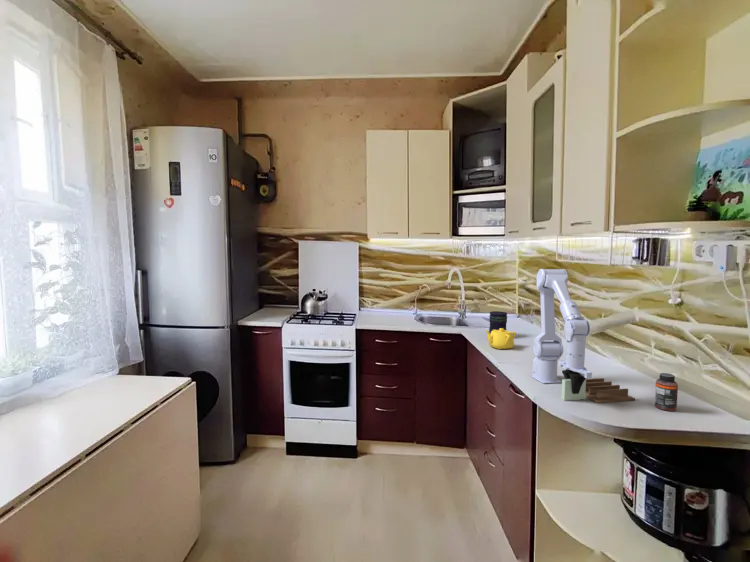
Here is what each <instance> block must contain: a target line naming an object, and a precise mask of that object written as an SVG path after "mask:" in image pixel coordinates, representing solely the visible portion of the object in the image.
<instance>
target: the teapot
mask: <svg viewBox="0 0 750 562" xmlns="http://www.w3.org/2000/svg"><path fill="white" fill-rule="evenodd" d="M484 331H485V332H486V334H487V341H488V344H489V346H490V347H492V348H495V349H497V350H502V349H505V350H510V349H513V347H514V345H515V337H516V335H517V333H516V331H509V330H504V329H503V328H499V330H492V331H491V334H490V332H489V330H484Z"/></svg>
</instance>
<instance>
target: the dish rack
mask: <svg viewBox="0 0 750 562" xmlns="http://www.w3.org/2000/svg"><path fill="white" fill-rule="evenodd" d="M620 387H621V385H619V384H613V381H605V377H602V378H600V377H599V378H598V377H597V378H586V391H585V399H588V400H590V401H592V402H594V403H596V404H600V403H601V404H604V403H616V402H617V403H618V402H633V401H636V398H635V397H633V396H631V395H629V388H620Z"/></svg>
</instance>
